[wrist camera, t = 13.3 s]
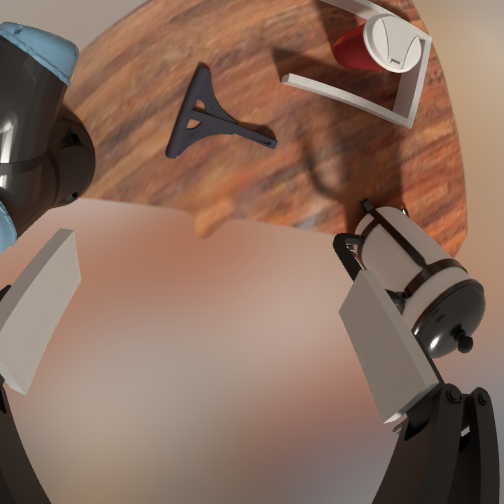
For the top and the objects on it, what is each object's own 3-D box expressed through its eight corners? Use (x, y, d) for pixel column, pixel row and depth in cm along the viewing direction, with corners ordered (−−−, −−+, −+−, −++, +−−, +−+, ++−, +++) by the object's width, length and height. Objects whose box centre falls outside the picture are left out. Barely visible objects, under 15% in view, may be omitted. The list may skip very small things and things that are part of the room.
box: (280, 83, 34) (287, 81, 30) (305, -10, 25) (314, -21, 21) (394, 124, 38) (411, 129, 33) (414, 40, 29) (431, 38, 24)
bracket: (256, 184, 43) (257, 189, 40) (166, 154, 39) (163, 158, 36) (293, 102, 36) (298, 102, 34) (199, 67, 32) (197, 64, 30)
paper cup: (367, 81, 34) (420, 82, 22) (322, 67, 33) (364, 57, 21) (373, 40, 30) (426, 28, 18) (329, 24, 28) (372, 0, 17)
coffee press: (396, 175, 43) (522, 273, 17) (412, 241, 51) (498, 346, 25) (314, 217, 46) (397, 363, 21) (342, 279, 54) (403, 408, 29)
